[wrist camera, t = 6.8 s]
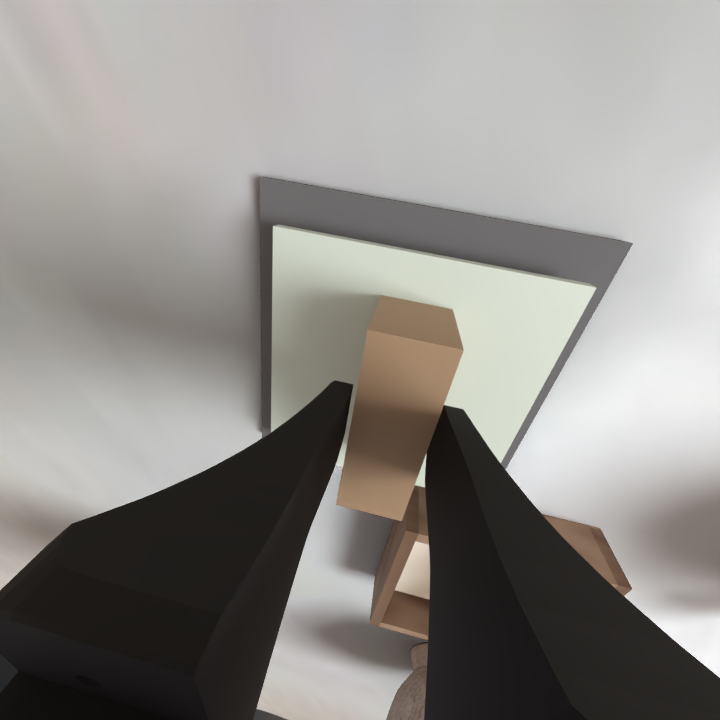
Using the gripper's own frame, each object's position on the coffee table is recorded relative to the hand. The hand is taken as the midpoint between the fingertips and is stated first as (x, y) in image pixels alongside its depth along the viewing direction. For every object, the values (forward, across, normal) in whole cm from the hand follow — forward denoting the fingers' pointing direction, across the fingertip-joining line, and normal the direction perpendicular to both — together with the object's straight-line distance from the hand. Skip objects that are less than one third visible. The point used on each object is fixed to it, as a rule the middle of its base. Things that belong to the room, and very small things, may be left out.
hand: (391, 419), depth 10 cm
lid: (+3, 0, 0) cm, 3 cm away
